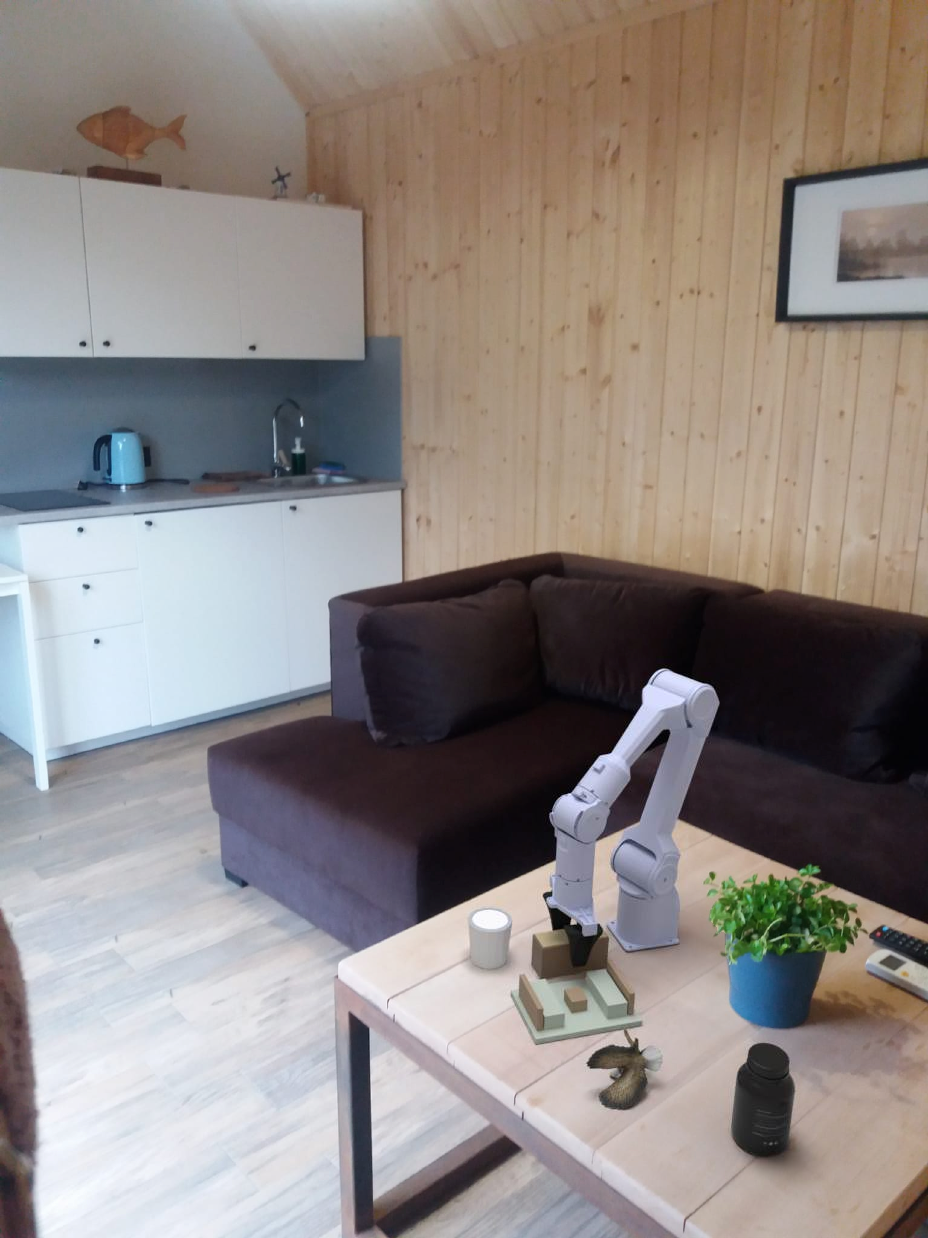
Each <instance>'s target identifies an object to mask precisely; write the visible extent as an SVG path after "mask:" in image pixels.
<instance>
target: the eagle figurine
mask: <svg viewBox="0 0 928 1238" xmlns="http://www.w3.org/2000/svg"><path fill="white" fill-rule="evenodd" d="M623 1034H624V1037H625V1038H626V1041H627V1042H628V1044H629V1045H630V1046H624V1045H622V1046H620V1045H615V1044H612V1043H611V1044H609V1045H608V1046H607V1045H606V1046H604V1047H602V1048H599V1049H598V1050H595V1051H594V1053H591V1056H590V1057H588V1061H586V1063H585V1064H586V1066H587V1067H588V1068H589V1069H591V1070H594V1069H595V1070H596V1069H597V1070H600V1069H601V1070H611V1071H610V1074H609V1077H611V1078H612V1077H613V1078H616V1077H618V1078H617V1079H616V1080H614V1082H613V1083H611V1084H610V1085H609V1086H608V1087H606V1088H605V1089H604V1090H602V1091H601V1092H600V1093H599V1094H598V1095H599V1096H598V1097H599V1101H600V1102H601V1106H604V1108H607V1109H612V1110H613V1109H617V1110H620V1109H626V1108H628V1107H630V1106H632V1104H634V1103H635V1100H637V1098H638V1097H639V1095H640V1094H641V1093H642V1091H644V1090H645V1089H646V1087H647V1085H648V1082H649V1081H648V1076H647V1073H646V1070H645V1069H647V1070H650V1071H652V1072H658V1071H659V1070H660V1069H661V1065H662V1063H663V1054H662V1052H661V1050H659V1048H657V1047H655V1046H653V1045H648V1046H647V1047H645V1048H643V1049H642V1050H640V1049H639V1047H640V1045H639V1039H638V1037H634V1041H633V1039H632V1038H631V1036H630V1034H629V1032H628V1030H627V1028H624V1029H623Z"/></svg>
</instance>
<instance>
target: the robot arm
mask: <svg viewBox="0 0 928 1238" xmlns="http://www.w3.org/2000/svg"><path fill="white" fill-rule="evenodd" d="M719 706H720V701H719V697H718V695H717V692H716V690H715V688H714V687H713V686H712V685H710V684H708V683H702V682H699V681H697V680H695V679H691V678H689V677H688V676H684V675H682V674H678V673H675V672H674V671H672V670H670V669H668V668H661V669H659V670H656V671H655V672H654V673H653V674H652V676H651V677H650V678H649V680H648V682H647V684H646V685H645V686H644V687H643V688H642V691H641V706H640V708H639V709H638V710H637V712H636V714H635V715H634V716H633V719H632V720H631V721H630V723H629V725H628V727H626V729H625V731H624V733H622V736H621V737H620V739H619V740H618V742H617V743H616V745H615V746H614V748H613V750H612V751H611V753H608V754H602V755H599V756H598V758H597V759H596V760H595V761H594V763H593V764H592V765H591V767H589V769H588V770H587V772H586V773H585V774H584V776H583V777H582V778H581V779H580V781H579V782H578V783H577V785H576V786H575V788H574V789H573V790H572V791H571V793H567V794H562V795H561V796H560V797H559V798H557V800H556V801H555V803H554V805H553V807H552V809H551V810H552V812H550V813H549V820H550V823H551V825H552V826H553V827H554V837H556V856H555V870H554V871H555V873H553V874H549V886H550V888H551V891H546V892H544V893H543V894H542V898H543V900H544V902H545V905H546V907H547V910H548V913H549V918H550V924H551V931H554V930H560V929H564V930H565V932H566V934H567V937H568V941H569V946H570V959H571V963H572V966H573V967H574V968H575V967H581V966H586V964H587V961H588V958H589V956H590V953H591V950H592V948H593V946H594V944H595V943H596V941H597V940H598V939H599V937H600V936H601V935H602V934H603V930H604V928H603V927H602V925H601V924H600V923H598V922H597V920H596V917H595V916H596V915H595V907H594V898H593V887H594V886H593V884H594V874H595V873H594V871H595V857H596V856H595V855H596V841H597V839H598V838H599V837H600V835H601V834H602V833H603V832H604V831H605V828H606V825H607V822H608V821H607V819H608V817H609V815H610V812H611V809H610V808H611V807H612V805H613V804H614V802H615V801H616V800H617V798H618V797H619V796H620V794H621V793H622V792H623V790H624V789H625V788H626V786H627V785H628V783H629V782H630V781H631V766H633V764H634V763H635V762H637V760H638V758H640V756H641V755H642V754H643V753H644V752H645V751H646V749H648V747H649V746H650V745H651V744H652V743H653V742H654V740H655V739H657V737H658V736H659V735H660V734H661V733H662V732H663V731H664V730H669V732H670V733H669V737H668V740H667V743H666V745H665V746H666V747H665V749H664V751H663V755H662V756H661V759H660V762H659V766H658V768H657V771H656V774H655V777H654V780H653V782H652V786H651V788H650V791H649V794H648V797H647V800H646V803H645V806H644V809H643V812H642V814H641V818H640V819H639V823H638V824H636V825H635V826H631V827H628V828H625V829H624V830H623V831H622V835H621V837H620V840H619V841H618V843H617V844H616V845H615V846H614V848H613V850H612V852H611V856H610V861H609V864H610V868H611V870H612V871H613V872H614V874H616V881H617V882H618V884H619V886H618V898H617V914H616V920H612V921H607V922H606V927H608V929H609V931H610V932H611V933H612V935H613V936H614V937H615V938H616V941H618V942H619V944H620V946H621V947H622V948H623V950H624V951H625V952H632V951H639V950H646V949H652V948H658V947H659V948H660V947H665V946H671V945H672V946H673V945H679V943H680V939H679V938H678V933H679V924H680V923H679V921H680V909H681V902H680V896H679V893H678V890H677V888H676V886H675V884H676V882H677V879H678V866H679V863H680V862H679V861H680V859H681V852H680V851H679V849H678V846H677V844H676V843H675V840H674V839H673V837H672V836H673V832H674V829H675V826H676V825H677V824H676V823H677V820H678V819H679V814H680V812H681V811H682V807H683V804H684V801H685V798H686V795H687V793H688V789H689V787H690V784H691V781H692V778H693V776H694V773H695V770H696V767H697V763H698V762H699V758H700V756H701V753H702V750H703V748H704V744H705V742H706V738H708V736H709V734H710V731H711V728H712V726H713V722H714V720H715V717H716V714H717V711H718V708H719ZM572 920H573V921H575V922H576V924H572Z"/></svg>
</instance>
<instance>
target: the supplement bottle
mask: <svg viewBox="0 0 928 1238" xmlns="http://www.w3.org/2000/svg"><path fill="white" fill-rule="evenodd" d="M747 1051H748V1052H747V1058H746V1061H745V1062H744V1063H743V1064H741V1066H740V1067H739V1068H738V1071H737V1072H736V1073H737V1074H736V1077H735V1079H736V1081H735V1087H734V1088H735V1089H734V1096H733V1097H734V1098H733V1103H732V1104H733V1105H732V1113H731V1114H732V1115H731V1123H730V1125H731V1126H730V1129H731V1134H732V1136H733V1138H734V1140H735V1142H736V1143H737V1144H738V1145H739V1146H740V1147H741V1149H743V1150H745V1151H746V1152H748V1153H750V1154H752V1155H755V1156H758V1157H767V1158H768V1157H774V1156H778V1155H779V1154H781V1153H782V1152H784V1151H785V1149H786V1148H787V1146H788V1144H789V1139H790V1133H791V1132H790V1131H791V1124H792V1118H793V1117H792V1116H793V1109H794V1108H793V1107H794V1101H795V1093H796V1085H795V1084H796V1083H795V1081H794V1079H793V1076H792V1075H791V1073H790V1056H789V1054H788V1053H786V1051H785V1050H784V1049H783V1048H781V1047H780V1046H777V1045H776V1044H773V1043H770V1042H758V1043H757V1042H756V1043H754V1044H752V1045H751V1047H749V1049H748V1050H747Z"/></svg>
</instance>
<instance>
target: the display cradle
mask: <svg viewBox="0 0 928 1238" xmlns="http://www.w3.org/2000/svg"><path fill="white" fill-rule="evenodd" d="M585 973H586V974H585V978H579V979H571V980H567V981H561V982H560V981H559V982H554V983H549V982H548V981H547V979H541V980H540V979H536V980H535V979H534V980H529V979H528V977H527V975H526V974H525V973H521V974H519V977H518V981H519V982H518V989H517V988H516V989H511V990H510V997H511V998H512V1001H513V1002H514V1004H515V1006H516V1008H517V1010H518V1012H519V1015H520V1017H521V1018H522V1020H523V1023H524V1024H525V1026H526V1027H527V1030H528V1032H529V1034H530V1036H531V1037H532V1040H533V1042H534V1044H535V1045H539V1044H545V1043H551V1042H557V1041H562V1040H568V1039H573V1038H579V1037H584V1036H589V1035H595V1034H601V1033H607V1032H612V1031H618V1030H622V1029H623V1030H624V1028H626V1029H630V1028H635V1027H640V1026H643V1019H642V1018H641V1016H640V1015H639V1014H638V1011H636V1008H635V999H636V992H635V990H634V989H633V988H632V986H631V985H630V983H629V982H628V981H627V979H626V978H625V976H624V975H623V974H622V972H621V971H620V968H618V966H617V965H616V963H615V962H614V960H612V959H610V960H608V961H607V968H604V969H599V970H593V971H588V972H585Z"/></svg>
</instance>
